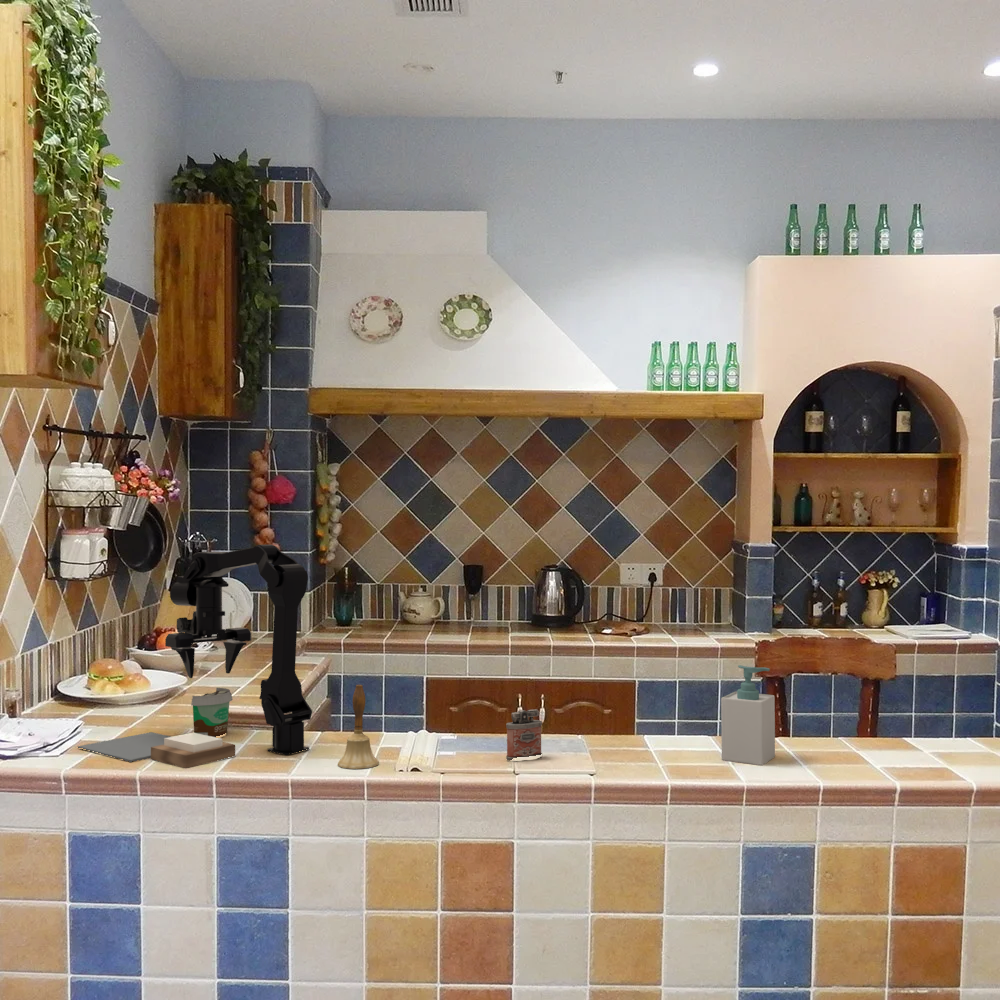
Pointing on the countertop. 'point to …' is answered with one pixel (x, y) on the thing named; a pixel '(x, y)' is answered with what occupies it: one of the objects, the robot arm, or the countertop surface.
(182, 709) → the countertop surface
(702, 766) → the countertop surface
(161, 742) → the mat
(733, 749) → the soap bottle
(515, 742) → the lighter
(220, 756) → the wooden block
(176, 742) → the tile
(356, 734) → the hand bell
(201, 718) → the food container
